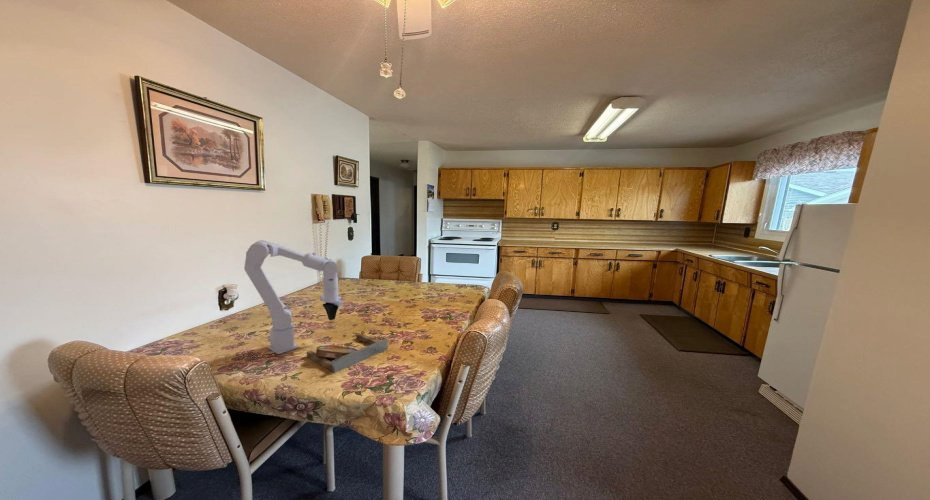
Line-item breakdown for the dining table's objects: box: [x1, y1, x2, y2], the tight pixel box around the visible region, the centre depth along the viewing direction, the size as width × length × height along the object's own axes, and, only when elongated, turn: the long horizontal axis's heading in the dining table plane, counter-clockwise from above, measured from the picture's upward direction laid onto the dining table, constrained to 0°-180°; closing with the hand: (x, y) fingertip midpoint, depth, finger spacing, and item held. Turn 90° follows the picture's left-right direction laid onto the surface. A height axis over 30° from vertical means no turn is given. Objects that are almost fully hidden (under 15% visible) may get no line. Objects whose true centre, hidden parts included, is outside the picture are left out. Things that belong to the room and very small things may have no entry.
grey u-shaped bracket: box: [306, 332, 389, 374], centre depth 118 cm, size 19×23×4 cm
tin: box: [315, 344, 358, 360], centre depth 113 cm, size 15×3×8 cm
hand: (331, 319), depth 128 cm, fingers closed
